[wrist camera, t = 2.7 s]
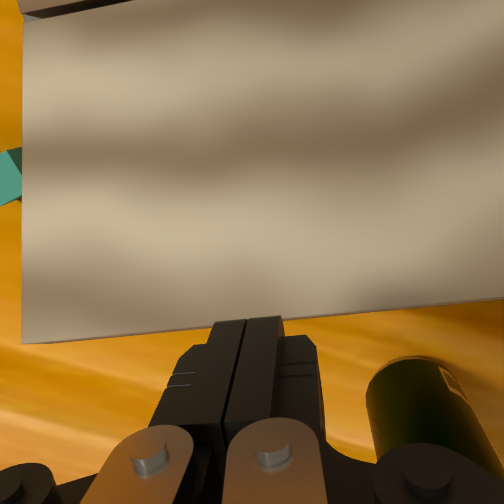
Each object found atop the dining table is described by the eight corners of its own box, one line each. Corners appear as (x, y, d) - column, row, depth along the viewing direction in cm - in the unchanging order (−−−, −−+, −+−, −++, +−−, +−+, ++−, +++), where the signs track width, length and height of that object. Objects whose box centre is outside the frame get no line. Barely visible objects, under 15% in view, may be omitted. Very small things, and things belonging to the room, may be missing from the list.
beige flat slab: (49, 50, 23) (23, 23, 21) (484, -35, 20) (501, -76, 18) (51, 343, 20) (21, 344, 18) (555, 294, 17) (584, 288, 15)
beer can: (407, 334, 27) (486, 516, 15) (476, 386, 27) (599, 596, 16) (344, 394, 28) (374, 596, 17) (411, 442, 29) (481, 666, 18)
